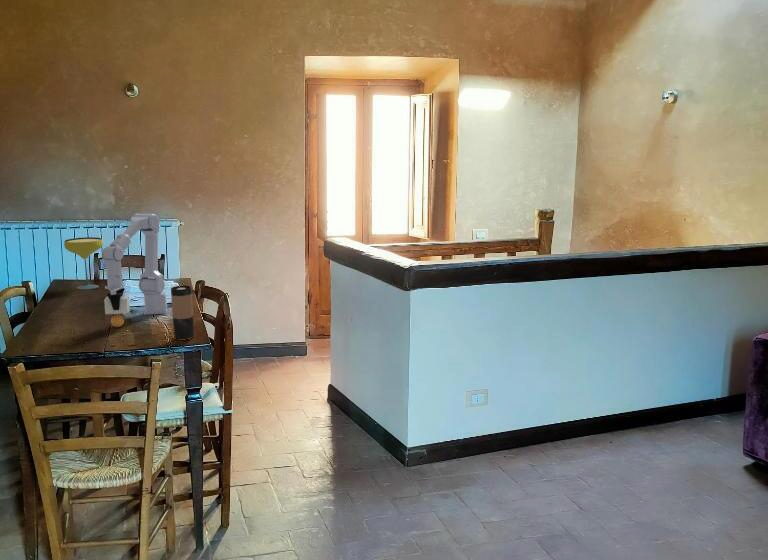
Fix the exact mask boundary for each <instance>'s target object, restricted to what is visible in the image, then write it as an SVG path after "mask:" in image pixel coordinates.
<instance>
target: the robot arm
mask: <svg viewBox="0 0 768 560" xmlns="http://www.w3.org/2000/svg"><path fill="white" fill-rule="evenodd" d="M137 232H142V233H143V235H144V237H145V239H144V240H145V242H144V243H145V244H144V247H145V248H144V271H143V272H142V273H140V276H139V281H138V288H139V290H140V291H141V293H142V294H143V300H144V312H143V315H144V316H146V315H161V314H162V315H165V314H167V311H168V303H167V293H166V292H164V290H165V286H166V285H165V280H164V275H163V274H162V273H161V272H159V271H158V270H159V269H158V267H159V265H158V263H159V261H158V260H159V258H158V257H159V233H160V219H159V217H158V215H157V214H155V213H136V212H135V213H134V214H133V215H131V217H130V224H129V225H127V228H126V229H125V230H124V232H123V233H120V234H119V233H118V234H117V235H116V237H115V239H114V240H113V241H112V242H111V243H110V244H109V245H106V246H105V247H104V248H103V249H102V252H101V258H102V260H103V263H104V265H105V269H106V281H107V285H105V286H104V289H105V290H109V292H107V294H106V297H107V296H108V298H109V299H110V301H111V304H112V308H113V310H119V307H120V298H121V296H124V292H125V290H126V289H125V288H124V283H123V273H122V261H121V260H122V259H123V257H124V254H125V251H126V249H127V248H128V247H129V246H130V244H131V242H132V241H131V239H132V238H133V237H134V236H135V235H136V234H137Z"/></svg>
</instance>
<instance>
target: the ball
mask: <svg viewBox="0 0 768 560" xmlns="http://www.w3.org/2000/svg"><path fill="white" fill-rule="evenodd" d="M124 323H125V320H124V317H123V316H122V315H120V314H114V315H113V316H111V319H110V324H111V325H112V326H113V327H115V328H120V327H122V326H123V325H124Z"/></svg>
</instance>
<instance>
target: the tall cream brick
mask: <svg viewBox="0 0 768 560" xmlns="http://www.w3.org/2000/svg"><path fill="white" fill-rule="evenodd" d="M129 297H130V296H129V295H123V296H121V298H120V307H119V310H113V308H112V304H111V301H110V299H109V298H108V296H107V295H106V297H105V298H104V300H103V302H104V314H105V315H120V314H128V313H129V312H130V299H129Z"/></svg>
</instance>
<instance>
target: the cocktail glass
mask: <svg viewBox="0 0 768 560" xmlns="http://www.w3.org/2000/svg"><path fill="white" fill-rule="evenodd" d="M63 246H64V249H66V250H67V252H70V253H73V254H75V255H77V256H79V257H80V258H82V259H83V260H84V268H85V269H84V270H85V284H83V285H80V286H79V285H78V286H77V287H76V290H80V291H81V290H82V291H85V290H86V291H87V290H95V289H98V288H99V287H100V285H97V284H90V282H89V277H88V270H87V259H88V258H89V257H90V255H92V254H93V253H96V252H97V251H99V250H100V249H101V248H102V246H103V238H102V237H97V236H96V237H91V236H90V237H87V236H86V237H76V238H69V239H65V240H64V241H63Z"/></svg>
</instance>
